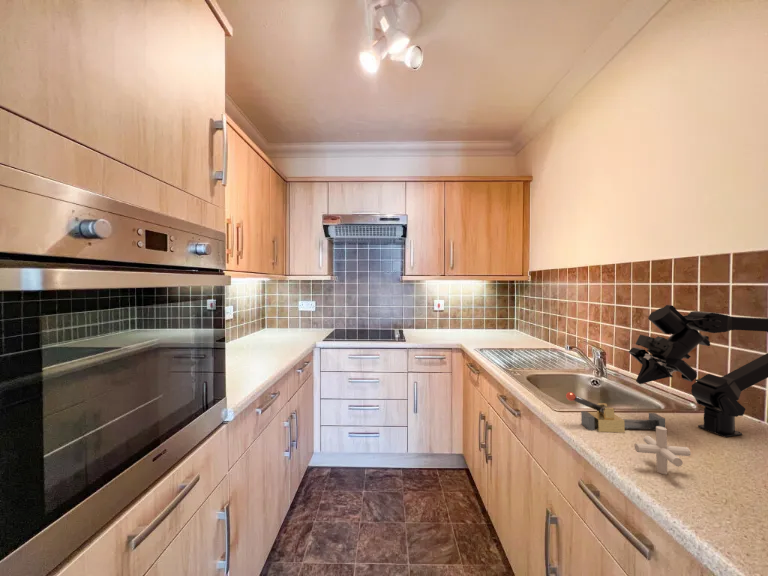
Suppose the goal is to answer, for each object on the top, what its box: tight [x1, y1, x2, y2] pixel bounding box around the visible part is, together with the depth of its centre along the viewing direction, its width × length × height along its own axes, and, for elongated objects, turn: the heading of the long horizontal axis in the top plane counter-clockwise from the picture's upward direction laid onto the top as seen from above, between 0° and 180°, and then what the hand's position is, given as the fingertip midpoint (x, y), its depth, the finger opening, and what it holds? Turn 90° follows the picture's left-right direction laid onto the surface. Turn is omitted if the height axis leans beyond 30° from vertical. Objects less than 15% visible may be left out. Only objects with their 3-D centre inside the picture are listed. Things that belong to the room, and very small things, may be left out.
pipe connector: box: [633, 426, 692, 475], centre depth 70 cm, size 10×10×10 cm
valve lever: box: [565, 391, 608, 415], centre depth 93 cm, size 3×3×13 cm
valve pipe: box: [580, 402, 666, 434], centre depth 92 cm, size 21×6×6 cm, turn 84°
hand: (637, 382), depth 91 cm, fingers closed
